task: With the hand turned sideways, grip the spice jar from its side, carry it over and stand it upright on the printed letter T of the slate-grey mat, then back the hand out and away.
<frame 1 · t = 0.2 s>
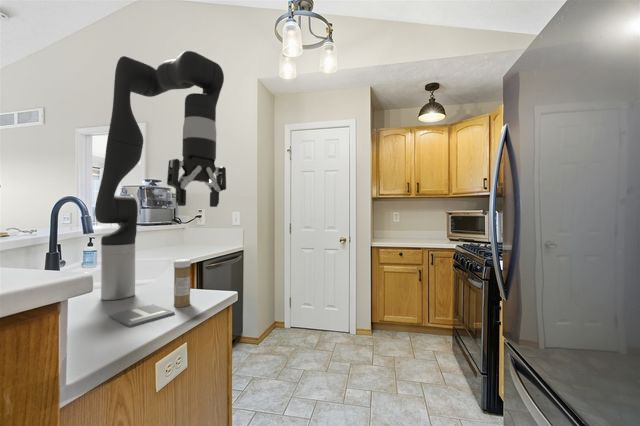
hand: (198, 206, 70), 29 cm above the counter, tool pointing down, fingers open, 8 cm apart
letter mat: (142, 315, 77), on the counter
spice jar: (182, 305, 86), on the counter
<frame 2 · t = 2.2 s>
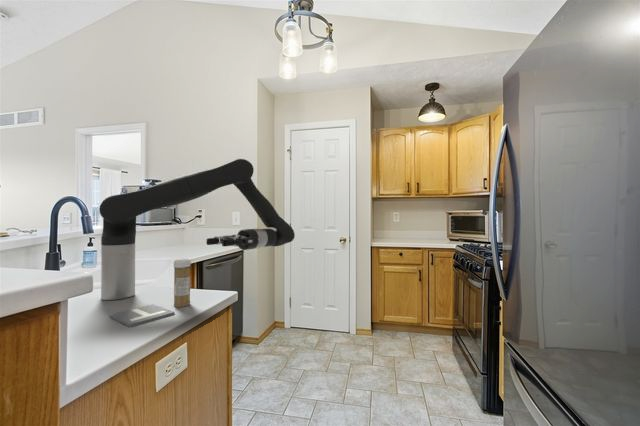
hand: (214, 242, 96), 18 cm above the counter, tool horizontal, fingers open, 8 cm apart
nothing on the counter moved.
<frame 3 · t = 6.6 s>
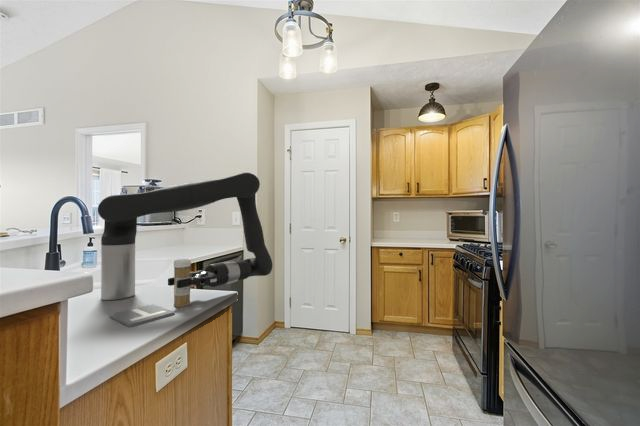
hand: (173, 283, 84), 7 cm above the counter, tool horizontal, fingers closed on spice jar, 4 cm apart
spice jar: (182, 305, 86), on the counter, touching gripper
when the fingers open (8 cm above the counter, at t = 11.5 s): spice jar stays where it is, resting on letter mat.
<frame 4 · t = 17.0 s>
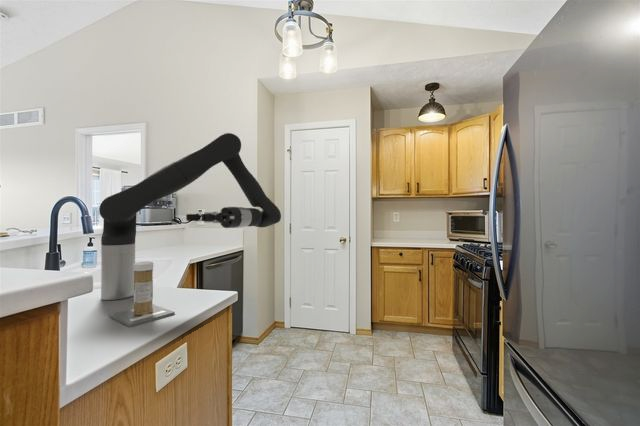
hand: (194, 217, 92), 26 cm above the counter, tool horizontal, fingers open, 8 cm apart
spice jar: (143, 313, 77), resting on letter mat
at the end: spice jar inside the target area on the letter mat (0.2 cm from its centre), point 0.5 cm above the letter mat's base; spice jar tilted 0°; the gripper is holding nothing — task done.
